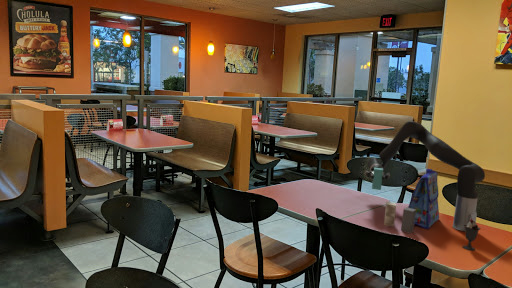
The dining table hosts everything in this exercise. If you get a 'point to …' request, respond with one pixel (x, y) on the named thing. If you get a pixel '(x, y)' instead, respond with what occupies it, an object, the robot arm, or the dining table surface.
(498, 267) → the dining table surface
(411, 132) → the robot arm
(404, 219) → the charcoal block
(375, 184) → the teal block
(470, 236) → the sundae
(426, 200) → the lunch bag
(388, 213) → the tan block
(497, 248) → the dining table surface
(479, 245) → the dining table surface
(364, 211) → the dining table surface
